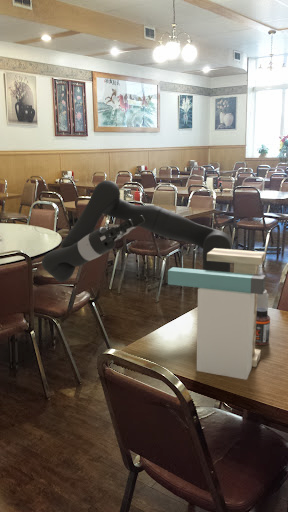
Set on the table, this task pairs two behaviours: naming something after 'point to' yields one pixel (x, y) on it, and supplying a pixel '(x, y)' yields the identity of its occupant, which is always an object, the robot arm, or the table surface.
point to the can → (263, 300)
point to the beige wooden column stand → (247, 265)
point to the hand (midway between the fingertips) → (137, 220)
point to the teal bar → (217, 280)
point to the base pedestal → (225, 332)
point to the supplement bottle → (262, 326)
